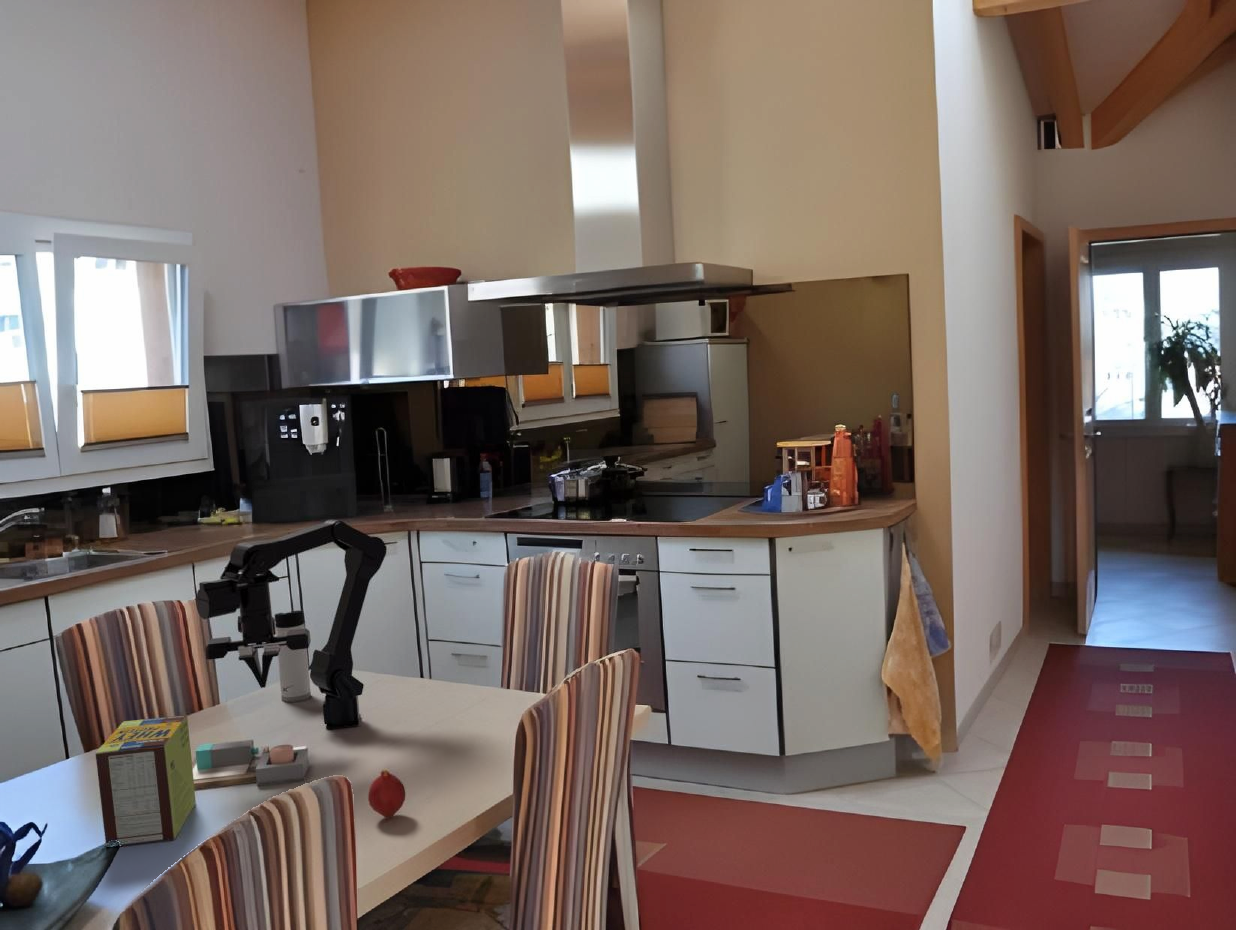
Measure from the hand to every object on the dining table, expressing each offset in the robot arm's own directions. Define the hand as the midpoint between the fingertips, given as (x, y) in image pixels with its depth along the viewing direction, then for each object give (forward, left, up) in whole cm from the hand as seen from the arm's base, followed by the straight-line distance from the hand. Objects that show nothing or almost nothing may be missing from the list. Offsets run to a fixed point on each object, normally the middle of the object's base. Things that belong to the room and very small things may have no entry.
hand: (263, 687), depth 208 cm
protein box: (+14, +33, -12) cm, 37 cm away
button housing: (-5, +17, -12) cm, 21 cm away
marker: (+6, +11, -11) cm, 16 cm away
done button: (-5, +17, -11) cm, 20 cm away
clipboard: (+6, +11, -12) cm, 17 cm away
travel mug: (-1, -31, -12) cm, 34 cm away
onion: (-24, +42, -12) cm, 50 cm away
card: (-4, +6, -12) cm, 14 cm away
